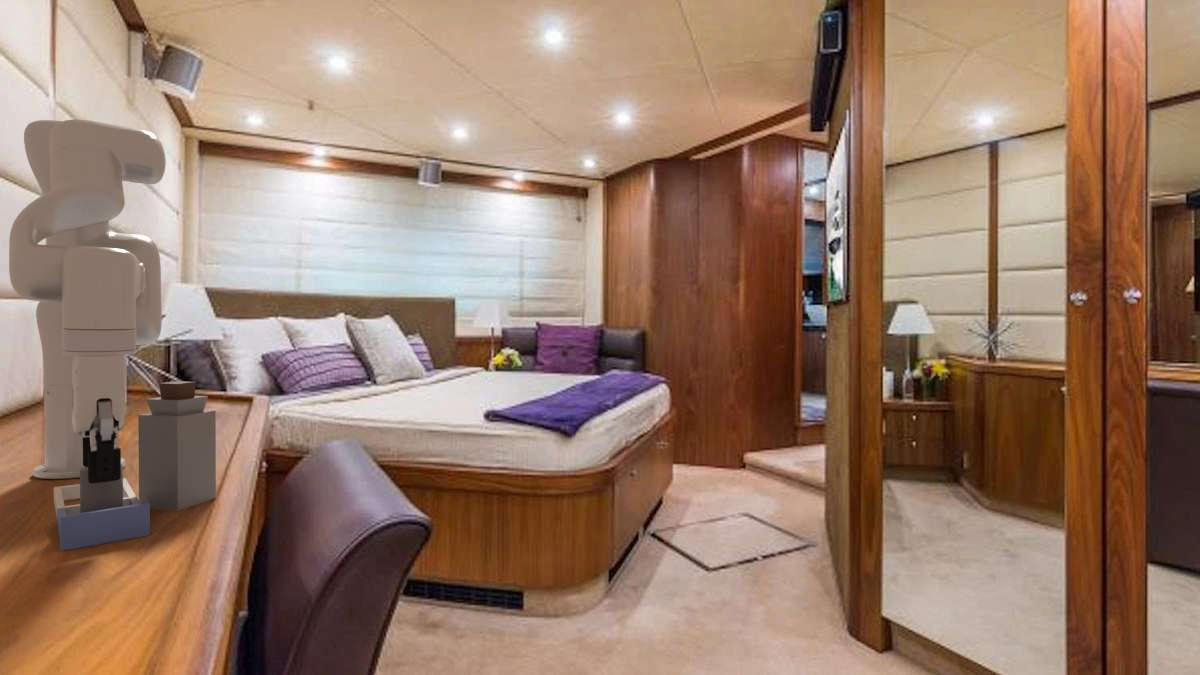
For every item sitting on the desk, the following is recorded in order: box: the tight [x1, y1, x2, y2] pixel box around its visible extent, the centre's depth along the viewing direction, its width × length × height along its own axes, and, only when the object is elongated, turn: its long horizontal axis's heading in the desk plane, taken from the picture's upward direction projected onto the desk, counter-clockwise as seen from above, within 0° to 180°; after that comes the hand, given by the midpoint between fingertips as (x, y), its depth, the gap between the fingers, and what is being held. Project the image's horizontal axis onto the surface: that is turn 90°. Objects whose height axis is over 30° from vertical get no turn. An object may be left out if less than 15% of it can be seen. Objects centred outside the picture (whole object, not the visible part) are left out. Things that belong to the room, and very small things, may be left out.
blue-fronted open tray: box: [53, 477, 151, 552], centre depth 87 cm, size 26×9×4 cm, turn 42°
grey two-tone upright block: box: [79, 464, 124, 513], centre depth 82 cm, size 4×4×8 cm
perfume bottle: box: [137, 380, 217, 512], centre depth 94 cm, size 7×7×18 cm
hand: (101, 472), depth 83 cm, fingers open, 9 cm apart
